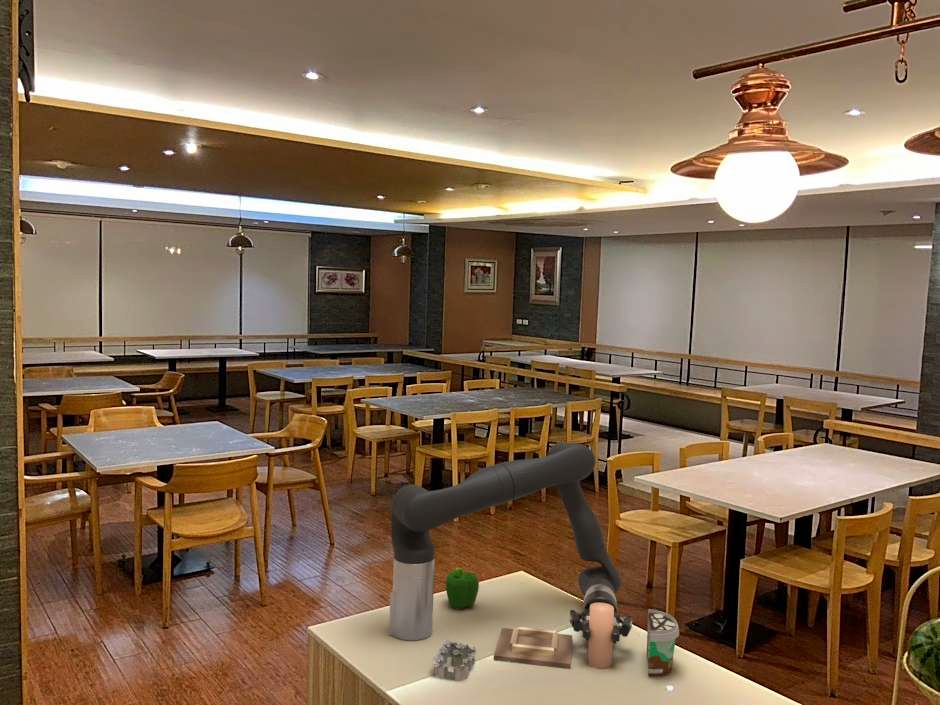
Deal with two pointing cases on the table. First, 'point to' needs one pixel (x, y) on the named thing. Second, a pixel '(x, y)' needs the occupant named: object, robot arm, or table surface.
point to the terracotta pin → (600, 635)
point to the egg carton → (454, 660)
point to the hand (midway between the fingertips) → (601, 637)
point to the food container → (660, 643)
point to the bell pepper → (461, 588)
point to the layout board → (534, 647)
